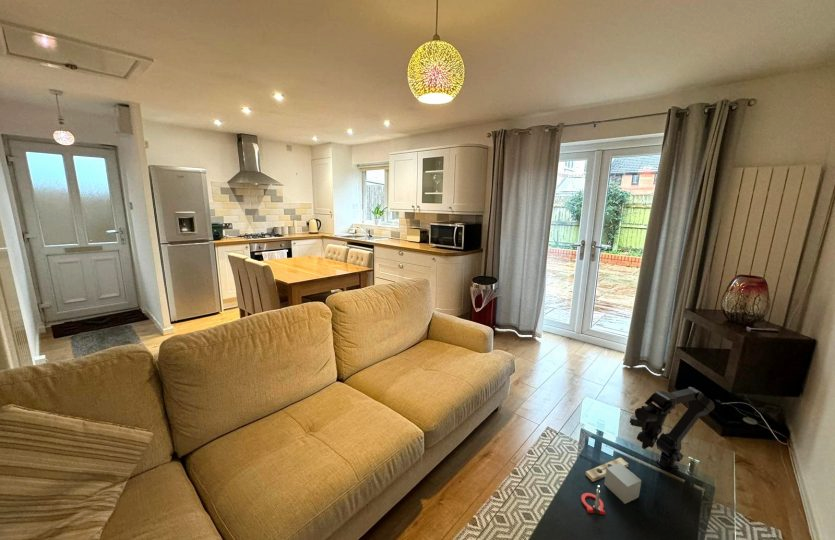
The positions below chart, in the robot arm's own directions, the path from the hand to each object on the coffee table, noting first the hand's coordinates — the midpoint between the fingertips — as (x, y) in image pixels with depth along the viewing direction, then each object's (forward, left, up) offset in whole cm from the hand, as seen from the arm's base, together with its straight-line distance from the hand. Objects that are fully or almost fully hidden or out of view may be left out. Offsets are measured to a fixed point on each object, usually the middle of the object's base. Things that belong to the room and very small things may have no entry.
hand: (643, 448), depth 149 cm
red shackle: (+34, +5, -13) cm, 37 cm away
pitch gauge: (+14, -5, -12) cm, 20 cm away
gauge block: (+18, +4, -12) cm, 22 cm away
